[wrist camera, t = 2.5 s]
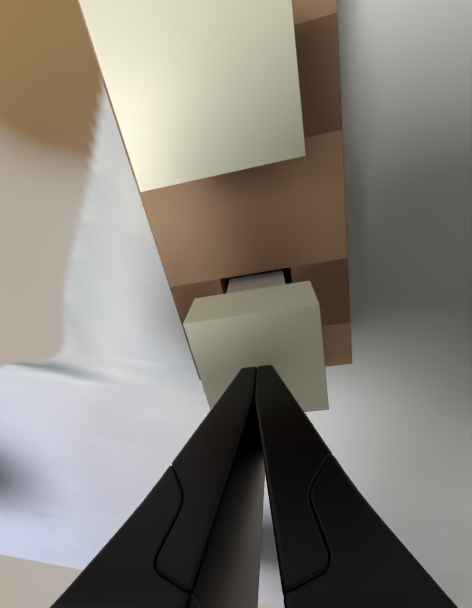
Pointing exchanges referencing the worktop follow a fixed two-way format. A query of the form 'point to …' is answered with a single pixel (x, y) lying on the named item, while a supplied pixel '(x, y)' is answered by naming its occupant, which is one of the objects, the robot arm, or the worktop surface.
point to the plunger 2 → (260, 336)
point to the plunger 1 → (199, 84)
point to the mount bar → (270, 202)
